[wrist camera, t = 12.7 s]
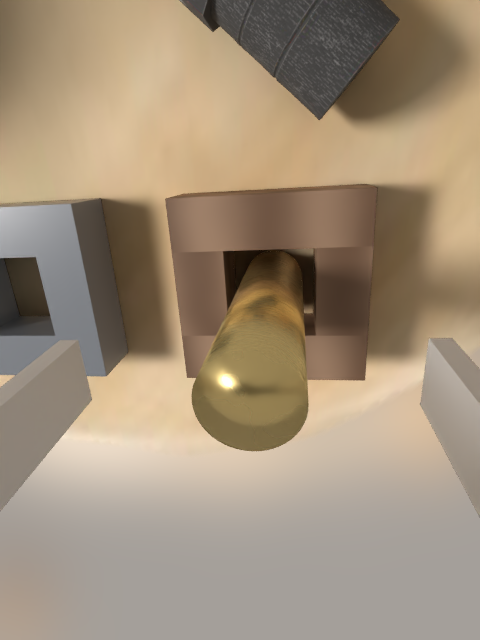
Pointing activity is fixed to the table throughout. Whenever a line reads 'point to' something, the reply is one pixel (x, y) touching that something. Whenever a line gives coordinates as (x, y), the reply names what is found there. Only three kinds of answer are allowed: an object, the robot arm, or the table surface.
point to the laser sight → (304, 40)
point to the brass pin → (257, 361)
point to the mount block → (61, 284)
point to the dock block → (278, 233)
